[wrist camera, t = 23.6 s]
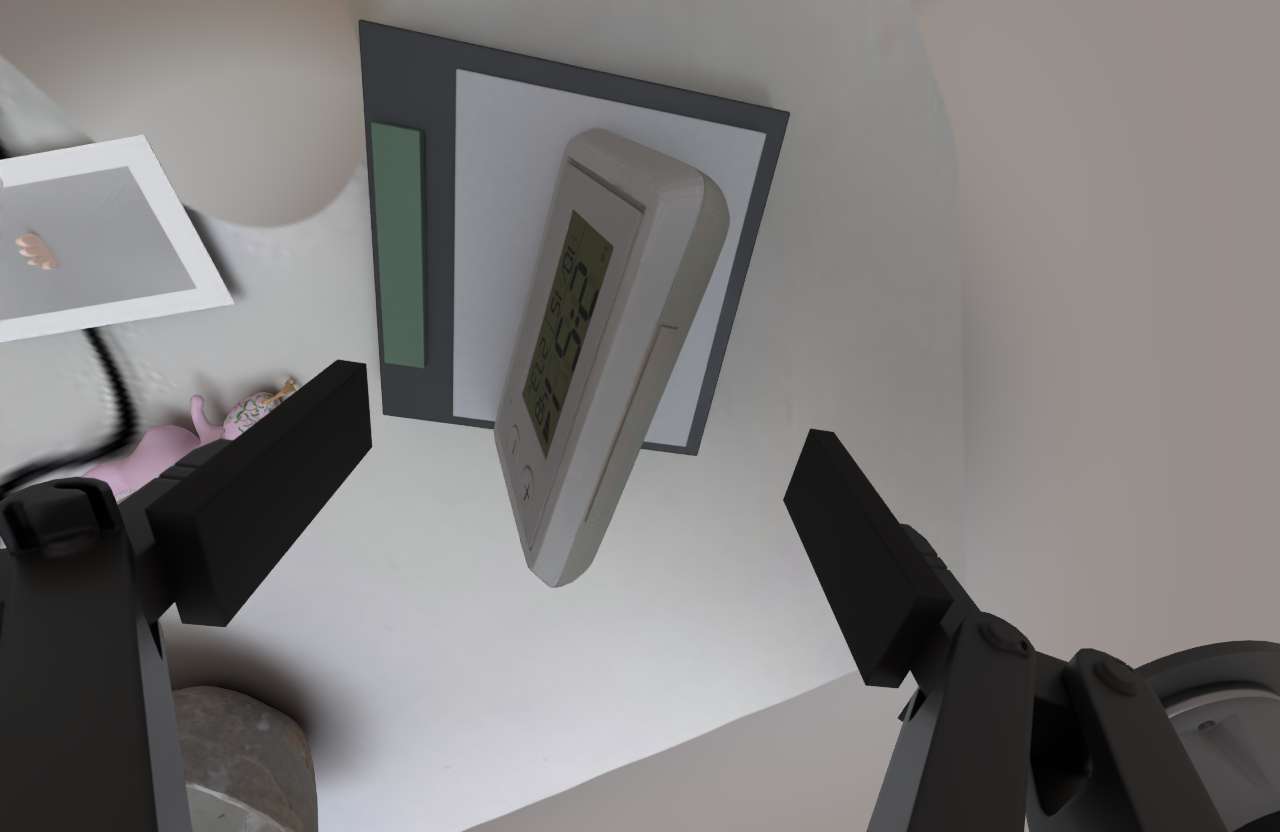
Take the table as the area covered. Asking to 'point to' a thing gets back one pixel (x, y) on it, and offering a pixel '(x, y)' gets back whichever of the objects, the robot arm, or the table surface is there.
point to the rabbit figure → (182, 441)
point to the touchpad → (96, 242)
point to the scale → (525, 212)
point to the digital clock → (600, 338)
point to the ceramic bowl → (243, 764)
